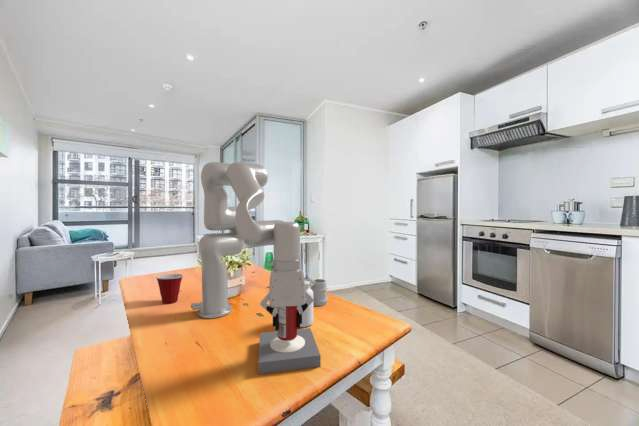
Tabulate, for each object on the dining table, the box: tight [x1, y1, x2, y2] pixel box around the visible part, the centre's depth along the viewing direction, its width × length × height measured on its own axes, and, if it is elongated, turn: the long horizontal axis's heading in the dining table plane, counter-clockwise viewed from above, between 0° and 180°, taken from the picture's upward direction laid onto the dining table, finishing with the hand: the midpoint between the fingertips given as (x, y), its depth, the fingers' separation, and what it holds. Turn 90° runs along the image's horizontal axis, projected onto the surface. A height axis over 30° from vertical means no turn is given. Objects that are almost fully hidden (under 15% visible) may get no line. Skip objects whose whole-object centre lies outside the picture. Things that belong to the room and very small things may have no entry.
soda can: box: [277, 306, 298, 341], centre depth 76 cm, size 6×6×12 cm
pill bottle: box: [300, 280, 314, 328], centre depth 96 cm, size 8×8×15 cm
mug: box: [306, 278, 329, 307], centre depth 114 cm, size 8×12×12 cm, turn 132°
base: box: [258, 327, 322, 375], centre depth 76 cm, size 16×16×3 cm
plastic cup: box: [155, 273, 184, 305], centre depth 118 cm, size 11×11×12 cm
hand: (287, 326), depth 76 cm, fingers closed on soda can, 5 cm apart
